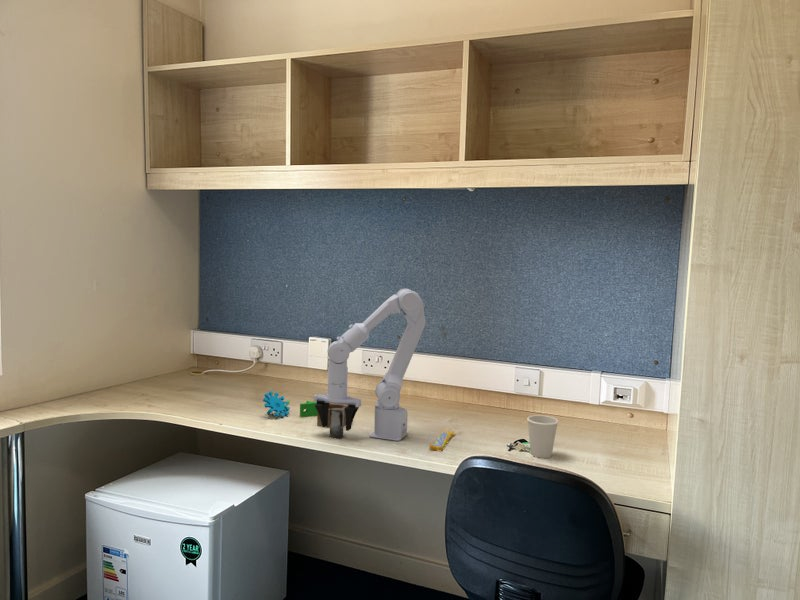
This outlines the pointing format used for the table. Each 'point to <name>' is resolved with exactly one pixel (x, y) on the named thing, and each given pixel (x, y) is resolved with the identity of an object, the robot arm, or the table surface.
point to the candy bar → (442, 440)
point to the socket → (329, 414)
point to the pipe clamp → (308, 409)
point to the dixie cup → (542, 435)
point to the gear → (276, 404)
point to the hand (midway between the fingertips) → (336, 428)
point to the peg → (336, 422)
